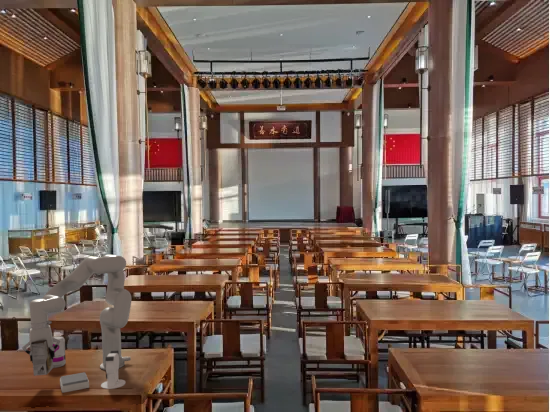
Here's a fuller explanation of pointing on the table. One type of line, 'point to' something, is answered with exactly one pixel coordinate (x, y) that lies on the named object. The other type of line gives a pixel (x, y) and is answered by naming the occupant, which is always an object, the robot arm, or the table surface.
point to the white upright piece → (112, 371)
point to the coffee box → (41, 358)
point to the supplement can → (59, 353)
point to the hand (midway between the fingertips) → (42, 360)
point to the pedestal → (74, 382)
